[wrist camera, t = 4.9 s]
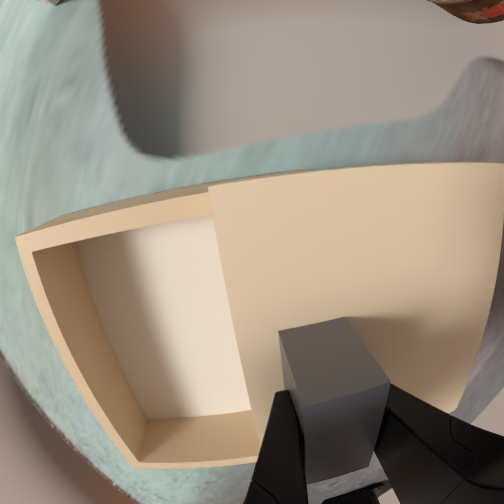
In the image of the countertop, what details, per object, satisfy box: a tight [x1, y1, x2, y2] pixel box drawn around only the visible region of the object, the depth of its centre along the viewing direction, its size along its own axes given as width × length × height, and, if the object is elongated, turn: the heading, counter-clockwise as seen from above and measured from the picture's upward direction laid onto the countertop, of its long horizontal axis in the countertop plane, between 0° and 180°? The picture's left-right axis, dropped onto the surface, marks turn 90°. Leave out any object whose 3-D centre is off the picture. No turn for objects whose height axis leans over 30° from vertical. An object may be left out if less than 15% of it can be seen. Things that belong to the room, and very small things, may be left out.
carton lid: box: [208, 162, 504, 484], centre depth 8 cm, size 12×10×4 cm
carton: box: [15, 170, 307, 469], centre depth 11 cm, size 12×10×4 cm
